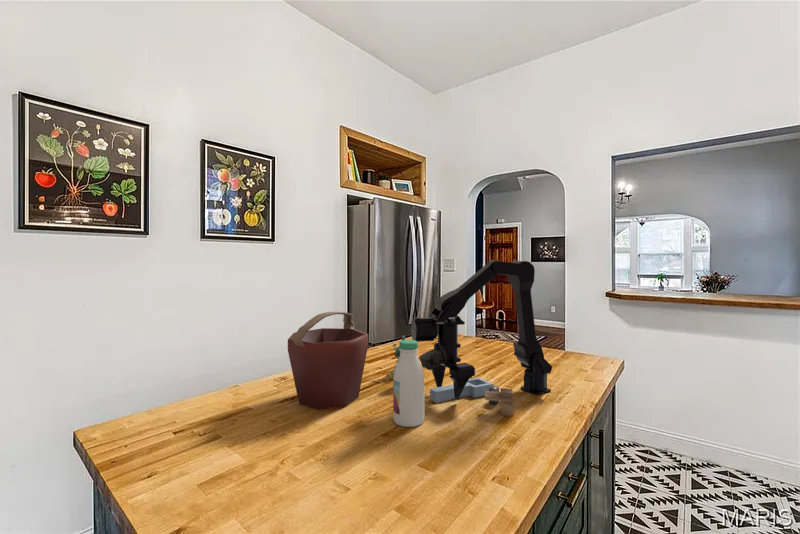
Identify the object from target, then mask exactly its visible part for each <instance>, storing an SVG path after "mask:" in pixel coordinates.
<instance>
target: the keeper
mask: <svg viewBox="0 0 800 534" xmlns="http://www.w3.org/2000/svg"><path fill="white" fill-rule="evenodd" d="M484 400H485V401H489V400H493V401H499V402H500V416H505V417H506V416H509V417H514V391H513V388H507V387H506V388H504V387H503V388H502V387H500V391H499V392H494V391H485V396H484Z"/></svg>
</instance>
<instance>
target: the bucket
mask: <svg viewBox="0 0 800 534" xmlns="http://www.w3.org/2000/svg"><path fill="white" fill-rule="evenodd" d="M334 315H341V316H342V315H343V318H342V319H343V320H342V322H343V328H337V327H336V328H334V327H333V328H332V327H331V328H330V327H329V328H324V327H323V328H321V327H320V328H315V329H312V328H314V326H316V325H317V324H318V323H319V322H320V321H323V320H324V319H325V318H327V317H330V316H334ZM353 319H354V313H350V312H343V311H342V312H341V311H328V312H322V313H319V314H317V315H315V316H313V317H312V318H311V319H309V320H308V321H307V322H305V323H304V324H303V325H301V326H300V327H299V328H298V330H297V331H296V332H293V333H292V335H290V336H289V337H288V338H287V353H288V358H289V362H290V368H291V372H292V377H293V382H294V386H295V387H294V388H295V391H296V396H297V400H298V405H300V406H303V407H306V408H309V409H313V410H316V411H323V410H331V409H338V408H346V407H348V406H349V405H350V404H351V403H353V402H355V400H357V399H358V398H359V396H360V390H361V385H362V380H363V374H364V370H365V364H366V359H367V354H368V348H369V333H366V332H364V331H361V330H358V329H357V328H356V329H355V322H354V320H353Z"/></svg>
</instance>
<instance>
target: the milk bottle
mask: <svg viewBox="0 0 800 534" xmlns="http://www.w3.org/2000/svg"><path fill="white" fill-rule="evenodd" d="M398 347H400V349H399V350H400V357H399V360H398V359H397V361H398V363H397V362H396V363H397V364H395V365H396V367H395V366H394V368H395V371H394V380H393V383H392V384H393V386H392V388H393V390H392V392H393V398H392V399H393V400H392V402H393V407H392V408H393V412H392V413H393V421H394V423H395V424H396V425H398V426H400V427H403V428H404V427H405V428H414V427H418V426H421V425H422V424H423V423H424V422H425V373H424V368H423V367H422V364H421V361H420V358H419V356H418V350H419V349H418V348H419V342H417V341H415V340H413V339H405V340H402V339H401V340H400V341H399V344H398Z"/></svg>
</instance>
